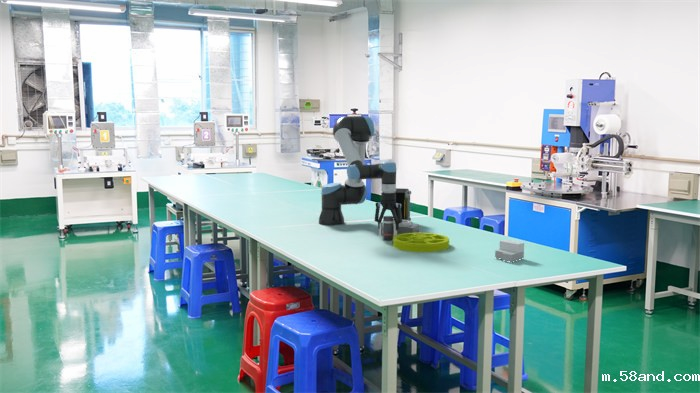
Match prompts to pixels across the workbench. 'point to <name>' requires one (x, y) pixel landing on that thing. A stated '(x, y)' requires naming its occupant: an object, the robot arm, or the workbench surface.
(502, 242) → the foam block
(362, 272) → the workbench surface
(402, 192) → the electrical component
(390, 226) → the lens
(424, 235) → the pulley
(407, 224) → the plate with octagonal ring
